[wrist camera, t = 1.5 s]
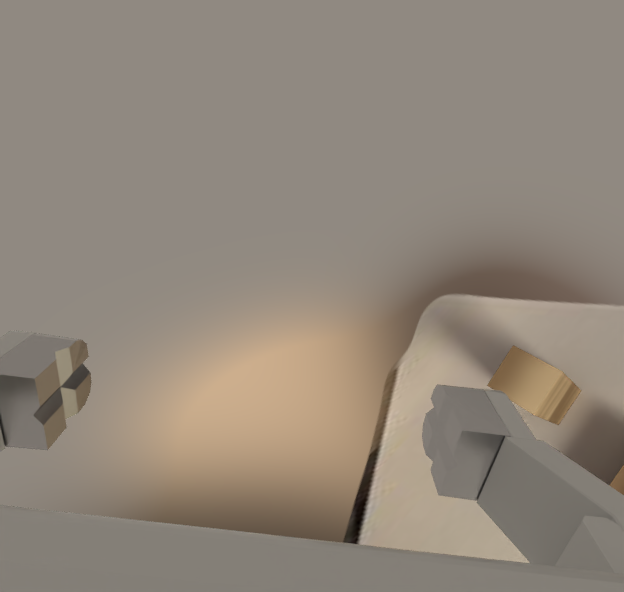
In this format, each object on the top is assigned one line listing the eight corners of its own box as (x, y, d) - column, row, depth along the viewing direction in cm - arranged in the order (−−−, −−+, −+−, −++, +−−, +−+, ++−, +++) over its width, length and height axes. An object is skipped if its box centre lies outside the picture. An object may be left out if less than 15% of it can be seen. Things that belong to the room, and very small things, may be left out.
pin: (581, 390, 35) (561, 371, 28) (558, 425, 36) (533, 414, 28) (540, 368, 38) (513, 345, 30) (519, 400, 38) (487, 385, 31)
